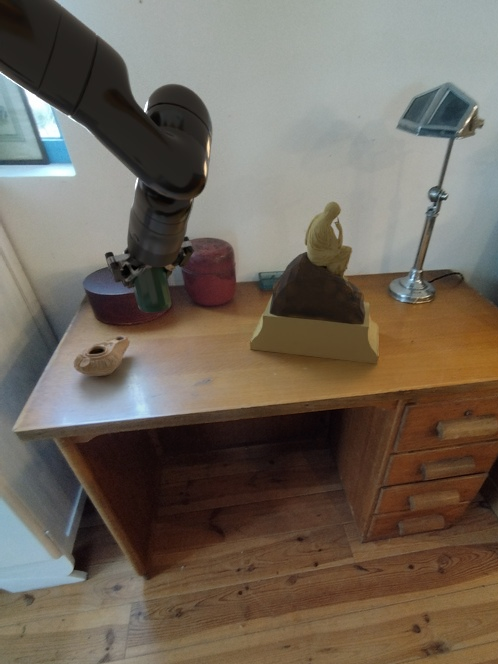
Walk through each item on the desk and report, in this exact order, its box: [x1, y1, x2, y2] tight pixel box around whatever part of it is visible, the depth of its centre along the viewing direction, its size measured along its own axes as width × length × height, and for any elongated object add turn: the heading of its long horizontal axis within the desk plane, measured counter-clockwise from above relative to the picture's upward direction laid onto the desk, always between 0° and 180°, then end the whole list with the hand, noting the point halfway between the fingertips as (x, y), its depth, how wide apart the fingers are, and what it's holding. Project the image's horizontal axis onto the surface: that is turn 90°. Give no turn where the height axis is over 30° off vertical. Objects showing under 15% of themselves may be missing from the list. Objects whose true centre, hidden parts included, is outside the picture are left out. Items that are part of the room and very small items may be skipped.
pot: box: [122, 251, 173, 314], centre depth 68 cm, size 6×6×10 cm
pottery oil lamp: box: [73, 335, 131, 377], centre depth 77 cm, size 9×12×7 cm
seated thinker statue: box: [249, 201, 380, 365], centre depth 78 cm, size 28×13×30 cm, turn 81°
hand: (145, 278), depth 69 cm, fingers closed on pot, 6 cm apart
